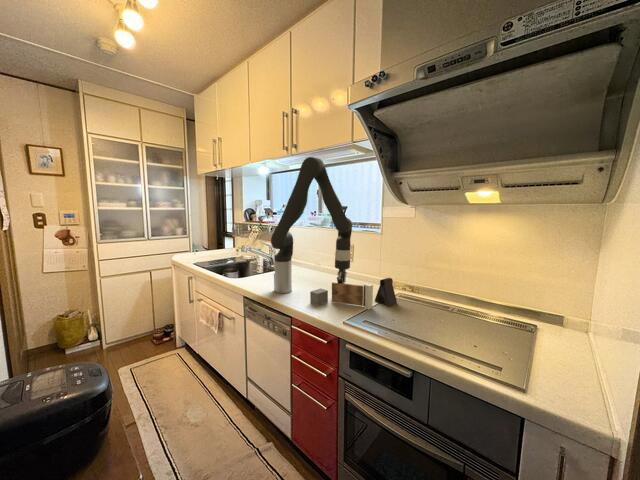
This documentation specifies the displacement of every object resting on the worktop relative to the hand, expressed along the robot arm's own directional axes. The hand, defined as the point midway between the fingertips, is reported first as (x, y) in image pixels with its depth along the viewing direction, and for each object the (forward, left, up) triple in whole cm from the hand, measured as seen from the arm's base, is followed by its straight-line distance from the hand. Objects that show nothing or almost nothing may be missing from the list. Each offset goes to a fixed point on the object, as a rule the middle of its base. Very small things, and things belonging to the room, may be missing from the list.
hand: (341, 292), depth 128 cm
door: (+7, -3, -4) cm, 8 cm away
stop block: (-5, -10, -4) cm, 12 cm away
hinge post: (+16, +1, -4) cm, 16 cm away
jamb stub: (-4, +1, -4) cm, 6 cm away
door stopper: (+18, +13, -4) cm, 22 cm away
